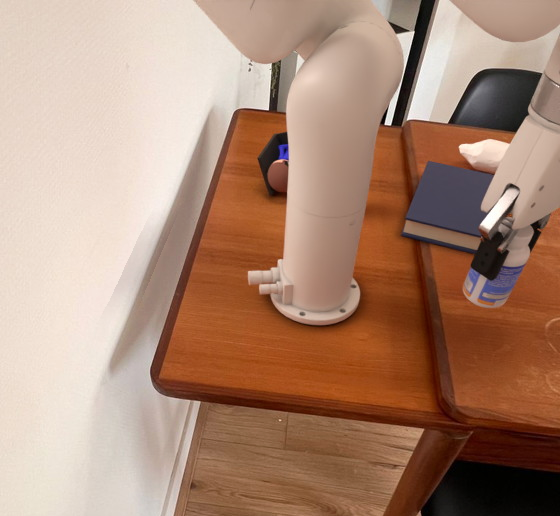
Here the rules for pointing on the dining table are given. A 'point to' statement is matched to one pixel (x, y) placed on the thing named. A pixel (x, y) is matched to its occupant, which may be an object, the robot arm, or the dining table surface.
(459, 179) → the book
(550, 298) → the dining table surface
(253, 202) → the dining table surface
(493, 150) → the roll
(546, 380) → the dining table surface
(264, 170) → the character figurine
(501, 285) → the pill bottle
